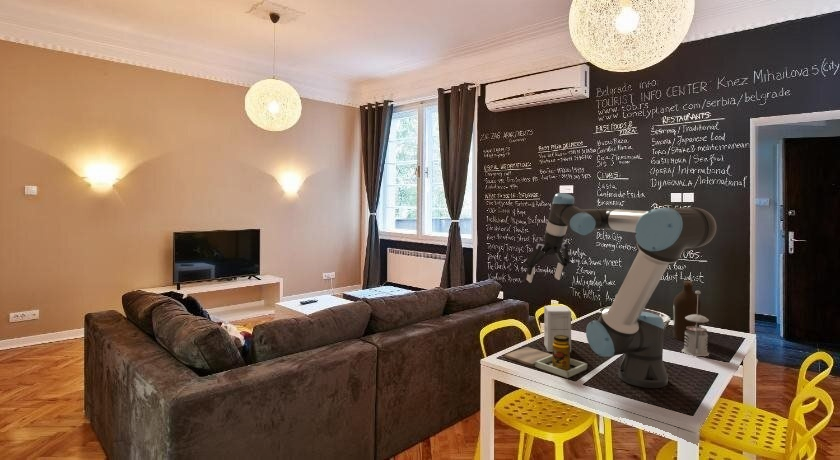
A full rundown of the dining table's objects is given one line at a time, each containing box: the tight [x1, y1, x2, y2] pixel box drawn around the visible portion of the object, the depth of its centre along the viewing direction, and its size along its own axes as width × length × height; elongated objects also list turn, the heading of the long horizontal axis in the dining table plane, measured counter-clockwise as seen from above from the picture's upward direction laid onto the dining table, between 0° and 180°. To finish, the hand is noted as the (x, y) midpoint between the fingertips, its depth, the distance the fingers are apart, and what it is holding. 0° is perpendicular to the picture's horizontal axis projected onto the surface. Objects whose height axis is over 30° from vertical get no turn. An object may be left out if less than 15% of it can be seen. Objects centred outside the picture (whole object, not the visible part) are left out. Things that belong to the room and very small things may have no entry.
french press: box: [681, 290, 710, 357], centre depth 180 cm, size 10×12×25 cm
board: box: [504, 346, 553, 367], centre depth 178 cm, size 13×14×1 cm
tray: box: [534, 354, 588, 379], centre depth 168 cm, size 14×13×2 cm
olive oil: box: [672, 280, 703, 342], centre depth 199 cm, size 11×11×25 cm
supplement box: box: [543, 305, 572, 353], centre depth 188 cm, size 10×9×17 cm
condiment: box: [548, 335, 573, 371], centre depth 167 cm, size 7×8×12 cm
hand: (543, 279), depth 186 cm, fingers open, 13 cm apart
